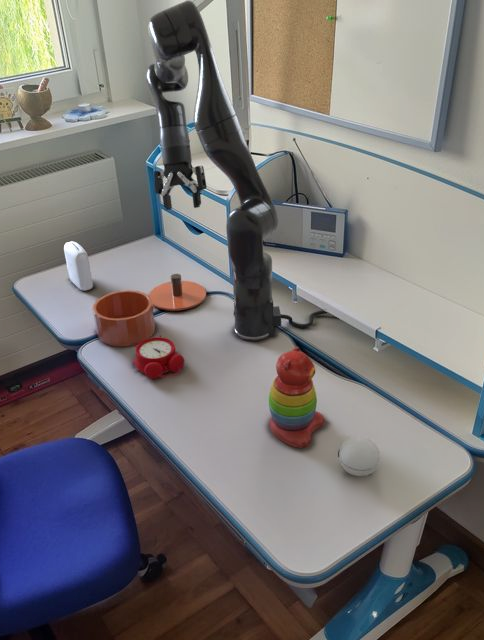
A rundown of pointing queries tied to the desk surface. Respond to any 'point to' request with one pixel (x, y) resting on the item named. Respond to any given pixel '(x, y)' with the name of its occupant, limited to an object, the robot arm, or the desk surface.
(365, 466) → the seamed sphere
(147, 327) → the orange cylindrical pot
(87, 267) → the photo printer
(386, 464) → the desk surface
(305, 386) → the stacking bear
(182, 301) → the lid
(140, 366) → the alarm clock
